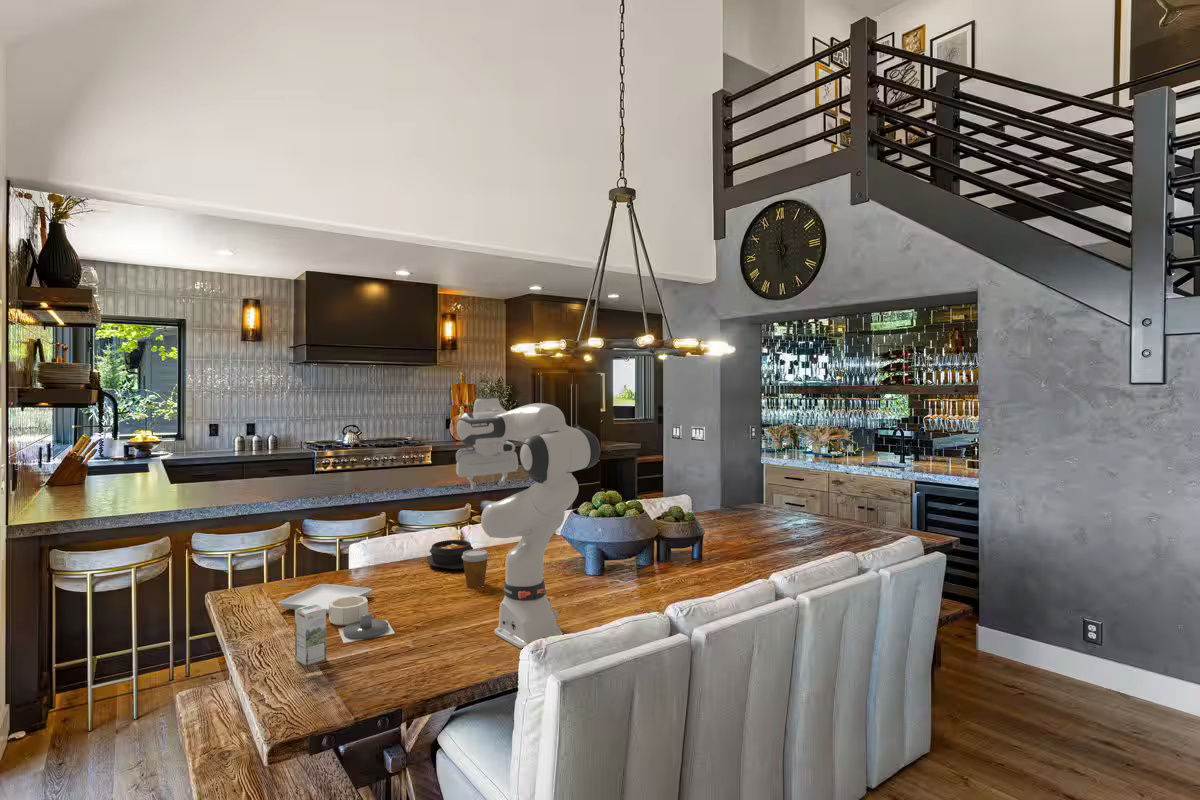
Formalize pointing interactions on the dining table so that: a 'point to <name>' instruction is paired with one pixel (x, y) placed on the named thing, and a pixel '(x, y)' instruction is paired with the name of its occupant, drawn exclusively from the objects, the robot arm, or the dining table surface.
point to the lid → (365, 628)
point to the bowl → (347, 609)
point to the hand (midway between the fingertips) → (487, 487)
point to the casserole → (448, 554)
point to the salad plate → (322, 595)
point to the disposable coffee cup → (475, 567)
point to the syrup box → (310, 634)
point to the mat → (345, 639)
